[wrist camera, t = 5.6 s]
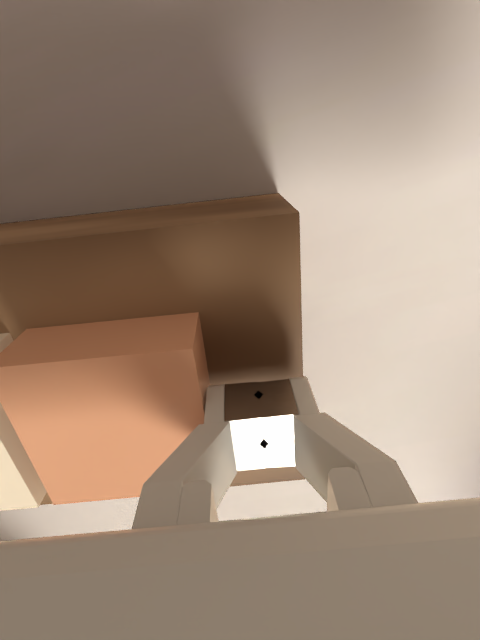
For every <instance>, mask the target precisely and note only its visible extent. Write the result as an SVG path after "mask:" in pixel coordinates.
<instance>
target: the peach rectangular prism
mask: <svg viewBox="0 0 480 640" xmlns="http://www.w3.org/2000/svg"><path fill="white" fill-rule="evenodd" d="M208 386H210V380H209V374H208V368H207V361H206V355H205V349H204V343H203V336H202V330H201V324H200V318H199V312H195V313H184V314H174V315H164V316H154V317H143V318H133V319H123V320H113V321H102V322H92V323H82V324H72V325H61V326H51V327H41V328H30V329H26V330H25V331H24V332H23V333H22V334H20V335H19V336H18V337H17V338H16V339H15V340H14V341H13V342H12V343H11V344H10V345H8V346H7V347H6V348H5V349H4V350H3V351H2V352H1V353H0V403H1V404H2V406H3V408H4V410H5V412H6V414H7V416H8V418H9V420H10V422H11V424H12V426H13V428H14V429H15V431H16V433H17V435H18V437H19V439H20V441H21V443H22V445H23V447H24V449H25V451H26V453H27V455H28V456H29V458H30V460H31V462H32V464H33V466H34V468H35V470H36V472H37V474H38V476H39V478H40V480H41V481H42V483H43V485H44V487H45V489H46V491H47V493H48V495H49V497H50V499H51V501H52V503H53V505H56V504H67V503H78V502H88V501H99V500H110V499H120V498H131V497H140V494H141V491H142V487H143V484H144V483H145V482H146V481H147V479H148V478H149V477H150V476H151V475H152V474H153V473H154V472H155V471H156V470H157V469H158V468H159V467H160V466H161V464H162V463H163V462H164V461H165V460H166V459H167V458H168V457H169V456H170V455H171V454H172V453H173V452H174V451H175V449H176V448H177V447H178V446H179V445H180V444H181V443H182V442H183V441H184V440H185V439H186V438H187V437H188V436H189V434H190V433H191V432H192V431H193V430H194V429H195V428H196V427H197V426H198V425H199V424H204V415H205V403H206V392H207V387H208Z"/></svg>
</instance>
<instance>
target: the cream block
mask: <svg viewBox="0 0 480 640" xmlns="http://www.w3.org/2000/svg"><path fill="white" fill-rule="evenodd" d="M12 342H13V339H12V336H11V334H10V333H2V334H0V353H1V352H2V351H3V350H4V349H5V348H6V347H7V346H8V345H10V344H11V343H12ZM46 493H47V491H46V489H45V487H44V485H43V483H42V481H41V480H40V478H39V476H38V474H37V472H36V470H35V468H34V466H33V464H32V462H31V460H30V458H29V456H28V455H27V453H26V451H25V449H24V447H23V445H22V443H21V441H20V439H19V437H18V435H17V433H16V431H15V429H14V428H13V426H12V424H11V422H10V420H9V418H8V416H7V414H6V412H5V410H4V408H3V406H2V404H1V403H0V511H5V510H15V509H25V508H36V507H39V506H40V504H41V502H42V500H43V498H44V496H45V494H46Z"/></svg>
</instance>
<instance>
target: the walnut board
mask: <svg viewBox="0 0 480 640" xmlns="http://www.w3.org/2000/svg"><path fill="white" fill-rule="evenodd" d="M195 312H199V318H200V324H201V330H202V336H203V343H204V349H205V355H206V361H207V368H208V374H209V380H210V386H211V385H222V384H224V385H225V384H234V383H247V382H262V381H272V380H282V379H289V378H295V377H303V360H302V315H301V269H300V224H299V212H298V211H297V210H296V209H295V208H294V207H293V206H292V205H291V204H290V203H289V202H287V201H286V200H285V199H284V198H283V197H282V196H281V195H280V194H279V193H275V194H266V195H257V196H248V197H239V198H230V199H221V200H212V201H203V202H194V203H185V204H176V205H167V206H158V207H149V208H140V209H131V210H122V211H113V212H104V213H95V214H86V215H77V216H68V217H59V218H50V219H41V220H32V221H22V222H13V223H4V224H0V334H2V333H10V334H11V336H12V339H13V341H14V340H15V339H16V338H17V337H18V336H19V335H20V334H22V333H23V332H24V331H25V330H26V329H30V328H41V327H51V326H61V325H72V324H82V323H92V322H102V321H113V320H123V319H133V318H143V317H154V316H164V315H174V314H184V313H195ZM302 479H305V478H304V476H303V475H302V474H301V473H300V472H299V471H298V470H297V469H296V468H295V466H286V467H271V468H260V469H252V470H244V471H237V474H236V476H235V477H234V479H233V481H232V483H231V485H230V486H240V485H250V484H260V483H271V482H281V481H292V480H302ZM43 504H53V503H52V501H51V499H50V497H49V495H48V493H46V494H45V496H44V498H43V500H42V502H41V504H40V505H43Z"/></svg>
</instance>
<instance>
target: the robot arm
mask: <svg viewBox="0 0 480 640" xmlns="http://www.w3.org/2000/svg"><path fill="white" fill-rule="evenodd" d="M286 466H295V468H296V469H297V470H298V471H299V472H300V473H301V474H302V475H303V476H304V478H305V479H306V480H307V481H308V482H309V483H310V484H311V485H312V486H313V488H314V489H315V490H316V491H317V492H318V493H319V494H320V495H321V497H322V498H323V499H324V500H325V501H326V502H327V512H316V513H305V514H294V515H283V516H272V517H261V518H250V519H239V520H228V521H218V517H217V511H216V509H217V508H218V506H219V504H220V502H221V500H222V499H223V497H224V495H225V493H226V492H227V490H228V488H229V486H230V485H231V483H232V481H233V479H234V477H235V476H236V474H237V471H244V470H252V469H260V468H271V467H286ZM0 640H480V498H469V499H458V500H447V501H436V502H425V503H418V502H417V500H416V498H415V496H414V494H413V492H412V490H411V488H410V487H409V485H408V483H407V481H406V479H405V477H404V475H403V474H402V472H401V470H400V468H399V466H398V464H397V462H396V461H395V460H393V459H392V458H390V457H389V456H388V455H386V454H385V453H383V452H382V451H380V450H379V449H377V448H376V447H374V446H373V445H371V444H370V443H369V442H367V441H366V440H364V439H363V438H361V437H360V436H358V435H357V434H355V433H354V432H352V431H351V430H350V429H348V428H347V427H345V426H344V425H342V424H341V423H339V422H338V421H336V420H335V419H334V418H332V417H331V416H329V415H328V414H326V413H320V412H319V409H318V407H317V404H316V401H315V398H314V395H313V392H312V390H311V387H310V384H309V381H308V378H307V377H306V376H303V377H295V378H289V379H282V380H272V381H262V382H247V383H234V384H225V385H224V384H222V385H211V386H208V387H207V392H206V403H205V415H204V424H199V425H198V426H197V427H196V428H195V429H194V430H193V431H192V432H191V433H190V434H189V436H188V437H187V438H186V439H185V440H184V441H183V442H182V443H181V444H180V445H179V446H178V447H177V448H176V449H175V451H174V452H173V453H172V454H171V455H170V456H169V457H168V458H167V459H166V460H165V461H164V462H163V463H162V464H161V466H160V467H159V468H158V469H157V470H156V471H155V472H154V473H153V474H152V475H151V476H150V477H149V478H148V479H147V481H146V482H145V483H144V484H143V487H142V491H141V494H140V498H139V502H138V506H137V510H136V514H135V518H134V522H133V526H132V529H130V530H120V531H109V532H97V533H86V534H75V535H64V536H53V537H42V538H31V539H20V540H10V541H0Z"/></svg>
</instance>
